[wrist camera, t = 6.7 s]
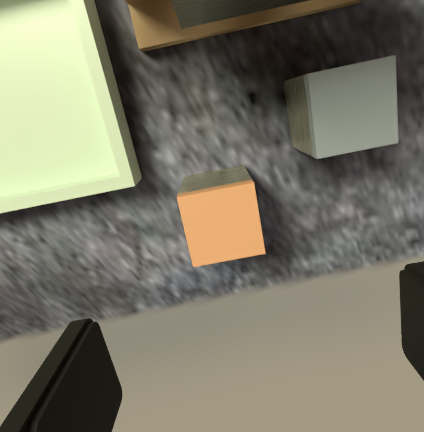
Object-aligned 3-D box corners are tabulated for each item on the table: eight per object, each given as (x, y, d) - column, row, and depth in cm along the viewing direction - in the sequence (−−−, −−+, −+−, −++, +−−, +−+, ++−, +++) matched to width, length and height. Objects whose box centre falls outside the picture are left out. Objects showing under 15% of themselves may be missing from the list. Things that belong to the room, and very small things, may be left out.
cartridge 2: (291, 146, 24) (317, 159, 19) (283, 81, 23) (307, 73, 17) (353, 133, 24) (398, 142, 18) (348, 67, 23) (395, 54, 17)
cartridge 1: (196, 232, 26) (193, 267, 21) (184, 176, 25) (176, 197, 19) (252, 221, 26) (265, 253, 20) (243, 164, 25) (254, 182, 19)
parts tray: (-35, 214, 26) (-59, 225, 23) (-125, 11, 21) (-167, -1, 19) (142, 178, 25) (134, 186, 22) (83, -39, 21) (67, -57, 18)
